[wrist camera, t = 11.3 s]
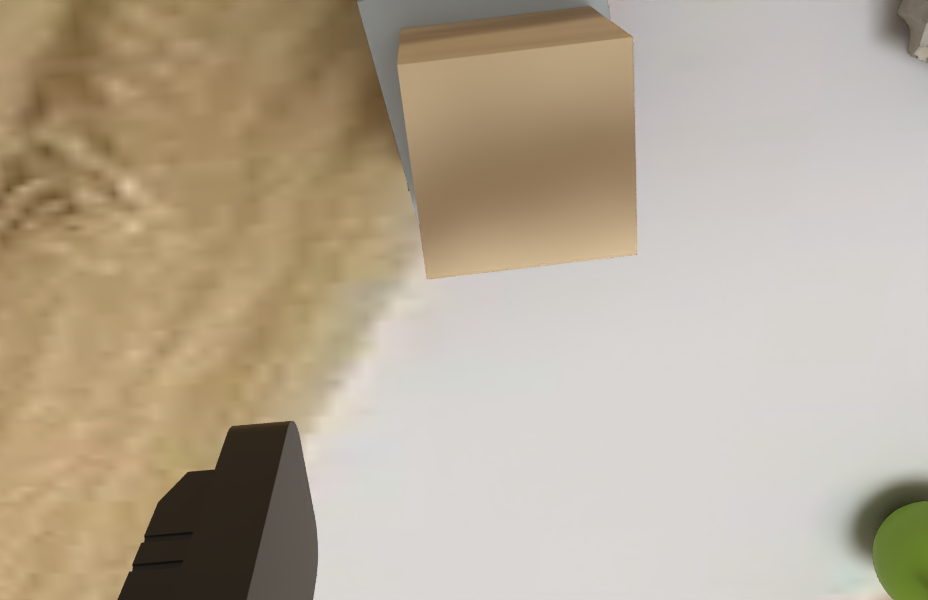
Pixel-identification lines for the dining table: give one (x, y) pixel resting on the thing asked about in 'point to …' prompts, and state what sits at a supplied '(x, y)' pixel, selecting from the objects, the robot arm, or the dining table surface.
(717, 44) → the dining table surface
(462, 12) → the tower top
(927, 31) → the grey stone ruin model
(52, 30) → the dining table surface
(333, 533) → the dining table surface
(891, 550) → the snail figurine
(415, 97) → the oak cube
